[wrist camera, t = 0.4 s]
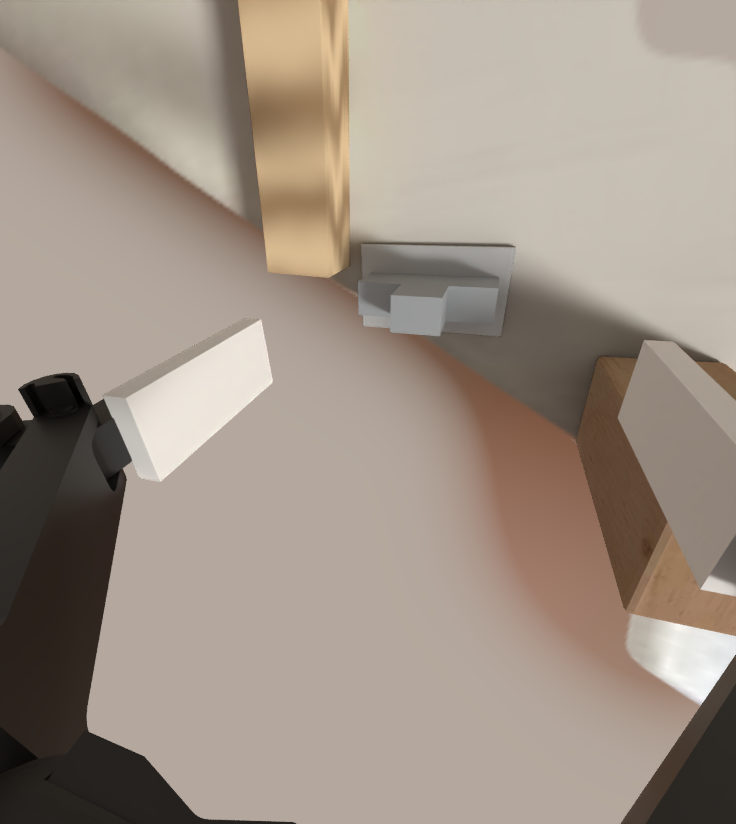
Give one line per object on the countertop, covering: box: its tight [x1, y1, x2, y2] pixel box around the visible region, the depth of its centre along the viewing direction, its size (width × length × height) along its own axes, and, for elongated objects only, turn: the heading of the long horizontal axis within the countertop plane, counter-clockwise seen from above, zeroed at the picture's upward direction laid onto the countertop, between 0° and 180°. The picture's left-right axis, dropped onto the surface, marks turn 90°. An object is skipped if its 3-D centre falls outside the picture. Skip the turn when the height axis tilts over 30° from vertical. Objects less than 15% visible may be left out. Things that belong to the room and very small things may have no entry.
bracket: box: [358, 244, 516, 337], centre depth 34 cm, size 8×14×9 cm, turn 91°
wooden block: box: [576, 357, 736, 636], centre depth 29 cm, size 10×10×20 cm
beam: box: [238, 0, 350, 278], centre depth 31 cm, size 24×6×6 cm, turn 179°
